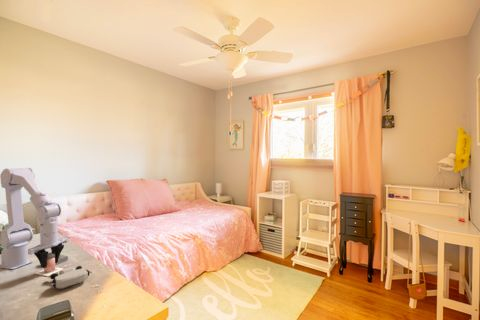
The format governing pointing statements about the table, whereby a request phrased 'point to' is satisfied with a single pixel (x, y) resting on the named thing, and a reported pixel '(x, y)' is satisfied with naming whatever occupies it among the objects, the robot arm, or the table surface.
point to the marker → (50, 262)
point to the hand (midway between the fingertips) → (49, 264)
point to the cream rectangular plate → (49, 272)
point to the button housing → (62, 259)
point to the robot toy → (69, 277)
